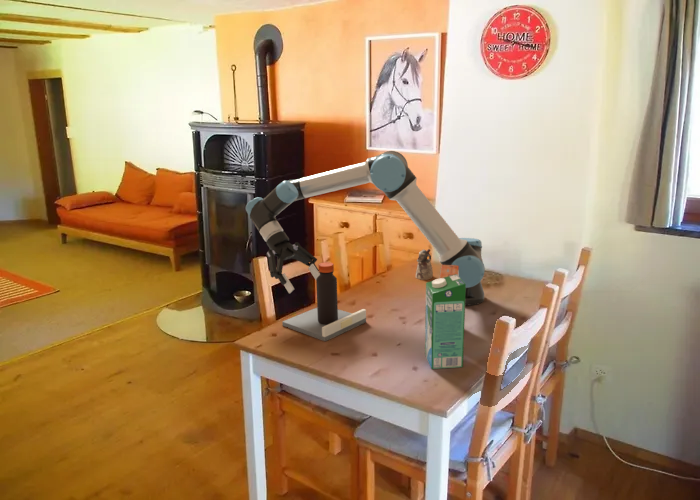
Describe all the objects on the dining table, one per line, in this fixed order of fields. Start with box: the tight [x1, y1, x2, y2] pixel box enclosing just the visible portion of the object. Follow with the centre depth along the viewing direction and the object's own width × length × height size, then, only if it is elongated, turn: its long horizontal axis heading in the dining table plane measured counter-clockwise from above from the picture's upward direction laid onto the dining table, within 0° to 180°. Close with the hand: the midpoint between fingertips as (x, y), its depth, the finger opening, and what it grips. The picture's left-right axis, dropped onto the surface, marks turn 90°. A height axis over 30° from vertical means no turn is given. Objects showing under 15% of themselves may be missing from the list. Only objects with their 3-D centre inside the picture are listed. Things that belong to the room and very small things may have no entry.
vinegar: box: [315, 261, 339, 325], centre depth 188 cm, size 7×7×20 cm
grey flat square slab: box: [281, 307, 367, 342], centre depth 192 cm, size 20×20×4 cm
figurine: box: [415, 248, 434, 281], centre depth 236 cm, size 7×7×12 cm
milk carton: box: [424, 274, 466, 370], centre depth 161 cm, size 9×9×25 cm
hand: (306, 285), depth 194 cm, fingers open, 13 cm apart
